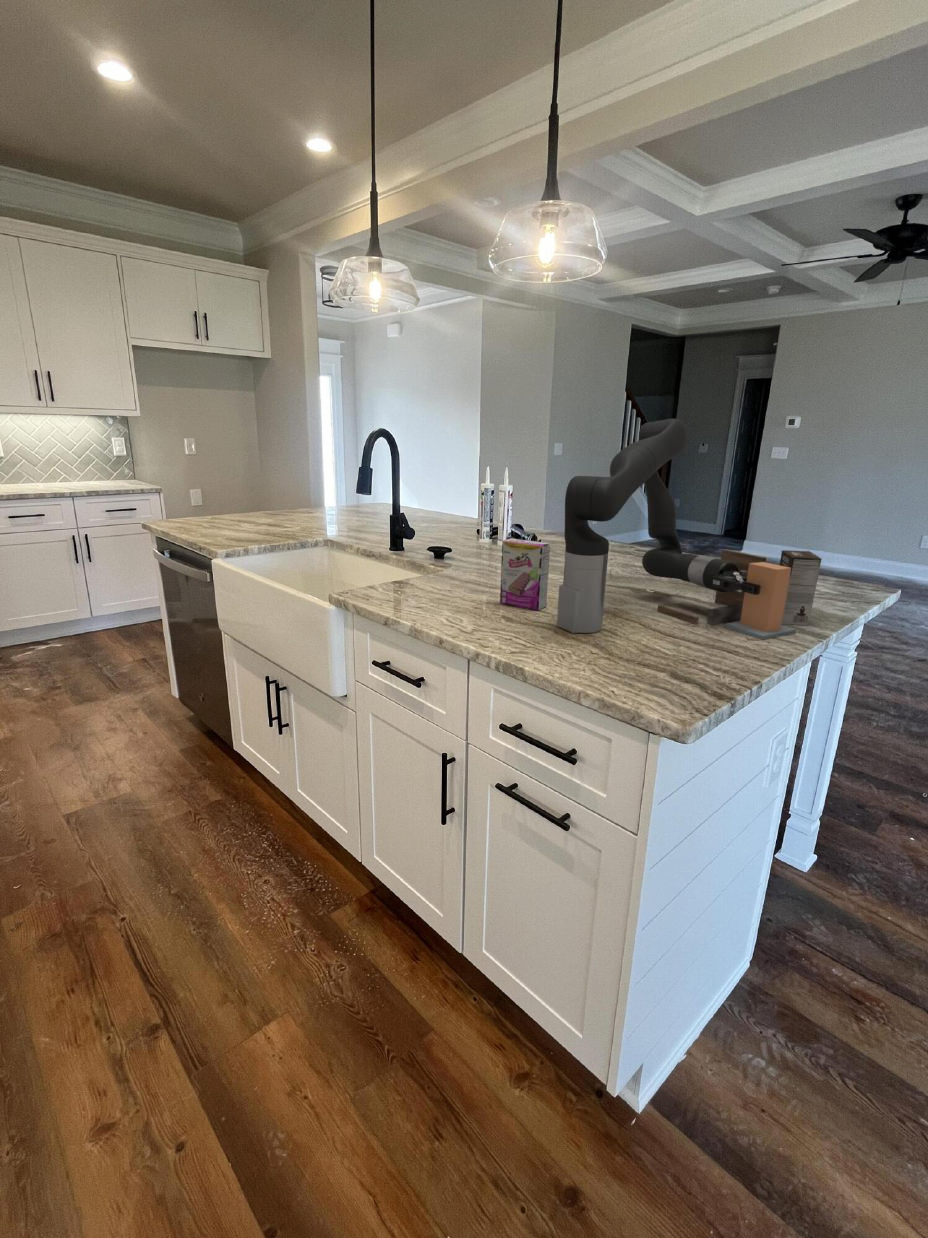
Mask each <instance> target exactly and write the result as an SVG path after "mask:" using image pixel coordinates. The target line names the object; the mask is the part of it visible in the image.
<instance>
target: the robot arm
mask: <svg viewBox="0 0 928 1238" xmlns="http://www.w3.org/2000/svg"><path fill="white" fill-rule="evenodd" d="M687 441H688V429H687V426H686V424H685V423H684V422H683V420H681V419H678V418H667V419H662V420H657V421H649V422H646V423H644V424H642V426H641V427H640V429H639V432H638V440H637V441H635V442H633V443H630V444H628V445H627V446H625V447H624V448H622V449H621V450H620V451H619V452H618V453H616V455H615V456H614V457H613V459H612V460H611V462H610V465H609V476H592V475H591V476H590V475H575V476H573V477H572V478H571V479H570V481H569V482H568V483H567V487H566V489H565V495H564V496H565V498H564V534H563V535H564V536H563V537H564V543H565V548H564V549H565V551H564V552H565V553H564V564H563V567H564V568H563V579H562V582H563V583H562V584H560V585H559V587H558V601H557V619H556V627H559V628H561V629H563V630H566V631H568V632H570V633H572V634H578V633H581V634H590V633H591V634H593V633H598V632H600V631H601V630H602V628H603V619H604V606H605V596H606V585H607V584H606V583H607V571H608V564H609V563H608V561H609V552H610V551H609V550H610V542H609V539H608V538H606V537H604V536H603V535H601V534H599V533H597V532H595V530H593V529H592V528H591V526H590V525H589V522H591V521H592V522H600V523H601V522H602V523H603V522H609V521H611V520H613V519H614V518H615V517H616V516H617V515H618V514H619V512H620V511H621V510H622V508H623V507H624V506H625V504H626V503H627V502H628V501H629V499H630V498H631V496H633V494H634V493H635V492H636V491H637V490H638V489H639V488H640V487H641V486H642V485H644V488H645V489H644V490H645V494H646V503H647V505H646V506H647V532H648V536H649V538H651V539H653V540H657V541H658V543H659V546H660V547H658V548H657V547H656V548H652V549H650V550H649V549H648V551H646V552H645V553H644V554H643V556H642V559H641V564H642V568H643V569H644V571H645V572H646V573H647V574H648V575H651V576H654V577H660V578H664V579H665V578H666V579H675V580H680V581H683V582H687V583H691V584H694V585H696V586H698V587H701V588H704V589H708V590H712V591H715V592H716V591H719V592H723V593H725V592H728V591H729V592H735V591H738V592H747V593H750V594H754V595H758V594H759V593H760V588H761V586H760V585H758V584H754V583H750V582H746V581H747V575H748V571H740V572H739V570H738V567H737V565H736V564H735V563H734V562H731V561H726V560H722V559H721V558H716V557H712V556H705V555H704V556H703V555H698V554H694V553H683V549H682V546H681V543H680V539H679V536H678V531H677V509H676V503H675V500H674V497H673V496H672V494H671V493H670V490H669V489H668V488H667V487H666V485H665V484H664V482H663V480H662V478H661V477H660V474H659V471H658V470H659V469H661V468H662V467H663V466H664V465H665V464H666V463H667V462H669V461H671V460H672V459H674V458H675V457H677V456H679V455H680V454H681V453H682V452H683V451H684V449H685V447H686V445H687Z"/></svg>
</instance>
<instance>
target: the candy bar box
mask: <svg viewBox="0 0 928 1238" xmlns="http://www.w3.org/2000/svg"><path fill="white" fill-rule="evenodd" d="M501 544H502V545H501V564H500V566H501V571H500V594H499V595H500V597H499V604H500V603H501V605H506V606H510V605H512V606H511V607H516V608H521V607H522V608H521V609H526V608H529V609H528V610H532V609H533V611H537V610H539V611H541V610H542V608H543V609H544V607H545V608H546V607H547V602H548V601H547V600H548V599H547V597H548V587H549V586H548V584H549V583H548V582H549V570H550V569H549V568H550V552H551V543H548V542H543V541H534V540H526V539H518V538H507V539H504V540H502V543H501ZM540 609H541V610H540Z"/></svg>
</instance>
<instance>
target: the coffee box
mask: <svg viewBox="0 0 928 1238" xmlns="http://www.w3.org/2000/svg"><path fill="white" fill-rule="evenodd" d="M822 559H823V558H821V557H820V556H818V555H816V554H814V553H813V552H811V551H810V550H807V551H806V550H788V549H787V550H784V549H783V550H781V554H780V560H779V565H780V566H785V567H789V568H791V572H790V578H789V583H788V589H787V595H786V600H785V606H784V612H783V618H782V623H781V625H791V624H794V625H793V626H807V627H808V626H809V625H810V619H811V615H812V609H813V604H814V599H815V594H816V590H817V583H818V578H819V575H820V574H819V573H820V569H821V565H822V564H821V563H822Z"/></svg>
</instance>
